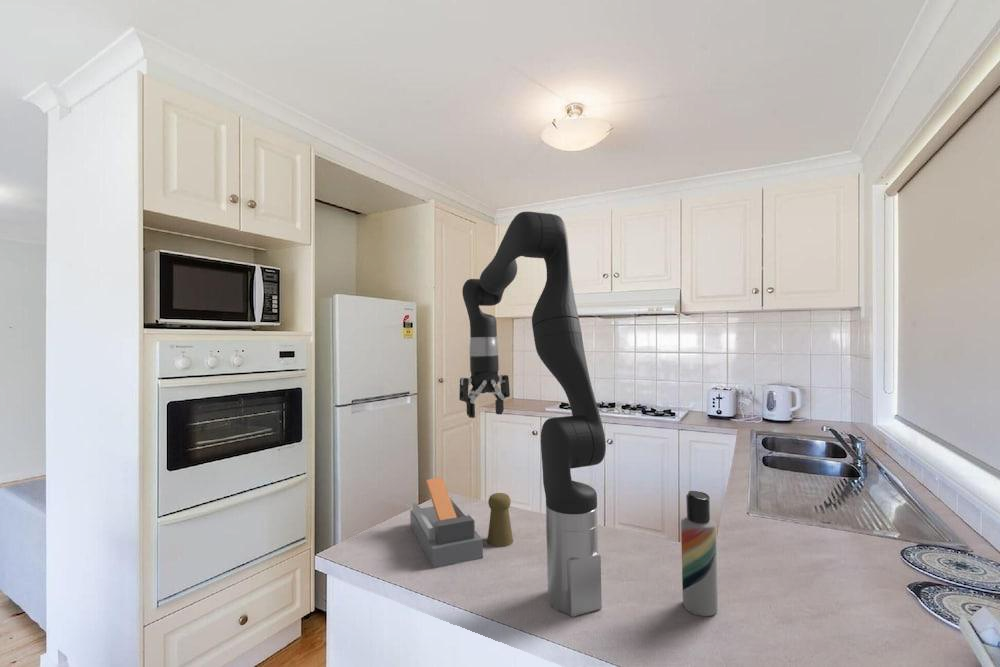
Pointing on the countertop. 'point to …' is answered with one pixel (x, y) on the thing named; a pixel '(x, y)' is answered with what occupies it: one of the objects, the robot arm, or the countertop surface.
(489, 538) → the olive pawn figure
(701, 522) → the lotion bottle
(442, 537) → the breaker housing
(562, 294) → the robot arm
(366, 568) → the countertop surface
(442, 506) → the lever
